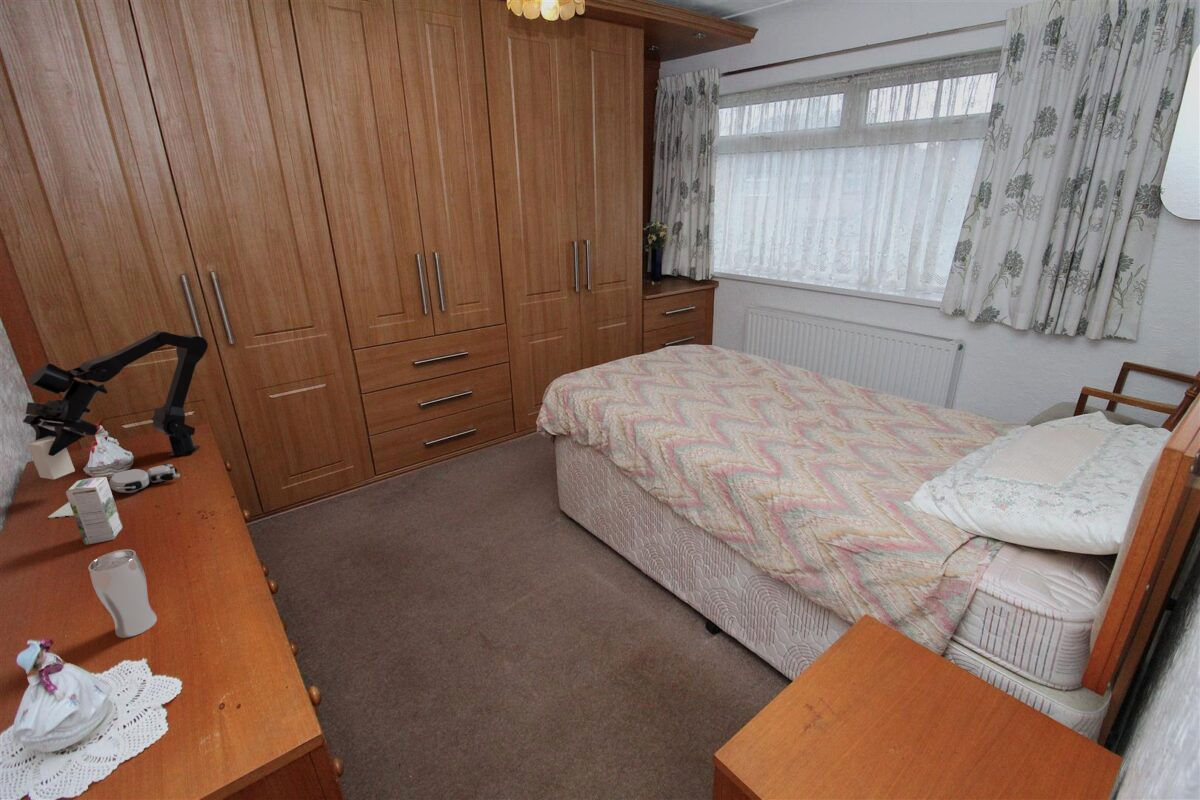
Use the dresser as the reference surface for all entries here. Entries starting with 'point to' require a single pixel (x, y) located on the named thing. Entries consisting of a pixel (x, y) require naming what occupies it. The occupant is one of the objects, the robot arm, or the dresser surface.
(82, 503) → the syrup box
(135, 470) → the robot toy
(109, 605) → the beer glass
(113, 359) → the robot arm
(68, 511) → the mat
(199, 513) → the dresser surface
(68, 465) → the cream block
